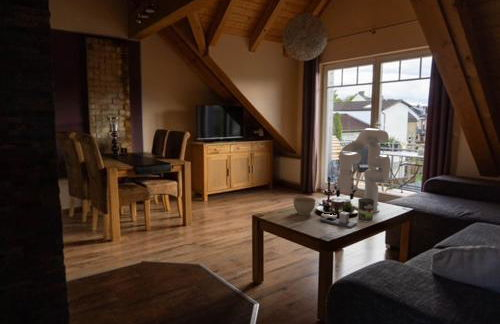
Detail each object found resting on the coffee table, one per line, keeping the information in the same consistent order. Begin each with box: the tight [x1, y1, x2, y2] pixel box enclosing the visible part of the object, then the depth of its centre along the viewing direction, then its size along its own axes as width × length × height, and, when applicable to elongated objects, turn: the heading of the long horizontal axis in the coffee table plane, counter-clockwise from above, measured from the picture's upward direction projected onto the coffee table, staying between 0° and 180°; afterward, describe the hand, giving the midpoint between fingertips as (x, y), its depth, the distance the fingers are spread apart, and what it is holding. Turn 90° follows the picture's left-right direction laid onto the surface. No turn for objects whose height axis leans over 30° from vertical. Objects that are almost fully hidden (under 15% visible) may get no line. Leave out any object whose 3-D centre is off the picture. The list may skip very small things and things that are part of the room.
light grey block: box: [338, 211, 350, 224], centre depth 241 cm, size 4×4×8 cm
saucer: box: [320, 212, 338, 218], centre depth 260 cm, size 11×11×1 cm
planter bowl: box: [292, 196, 316, 217], centre depth 264 cm, size 16×16×11 cm
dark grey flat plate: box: [320, 216, 358, 229], centre depth 244 cm, size 9×22×2 cm, turn 47°
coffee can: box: [357, 198, 374, 223], centre depth 250 cm, size 10×10×14 cm
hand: (344, 197), depth 238 cm, fingers open, 9 cm apart
